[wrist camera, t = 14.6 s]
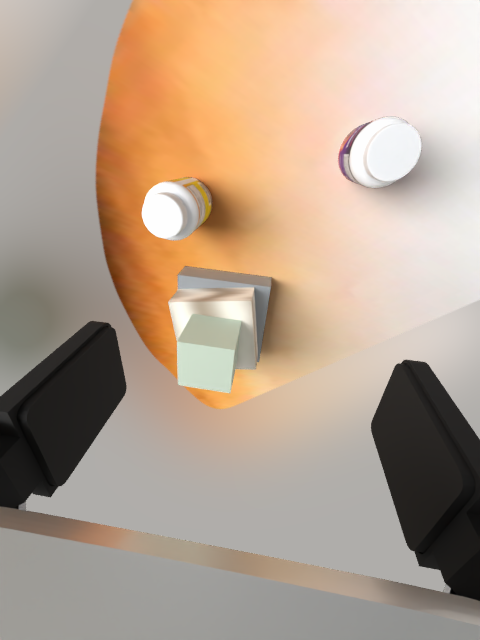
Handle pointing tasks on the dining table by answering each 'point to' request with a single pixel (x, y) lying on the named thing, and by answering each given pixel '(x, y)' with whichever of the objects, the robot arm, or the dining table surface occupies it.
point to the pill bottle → (379, 152)
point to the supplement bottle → (176, 208)
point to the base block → (224, 279)
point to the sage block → (208, 353)
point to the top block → (220, 315)
